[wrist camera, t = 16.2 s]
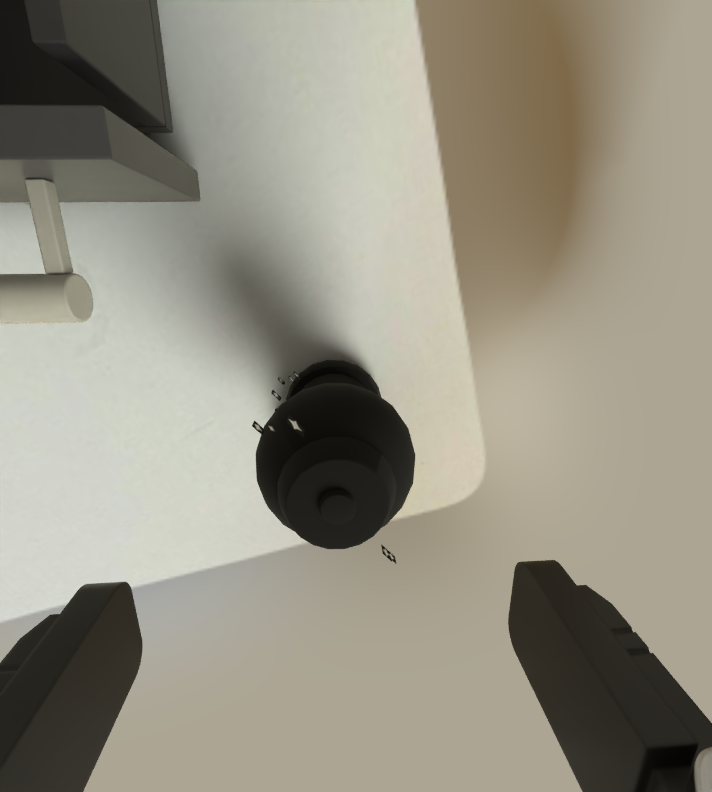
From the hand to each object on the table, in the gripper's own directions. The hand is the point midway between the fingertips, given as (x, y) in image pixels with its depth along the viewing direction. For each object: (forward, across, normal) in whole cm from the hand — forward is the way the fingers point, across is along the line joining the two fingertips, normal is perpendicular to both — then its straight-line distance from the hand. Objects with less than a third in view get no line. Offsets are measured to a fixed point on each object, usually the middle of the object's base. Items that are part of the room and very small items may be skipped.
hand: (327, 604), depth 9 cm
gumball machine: (+14, 0, 0) cm, 14 cm away
